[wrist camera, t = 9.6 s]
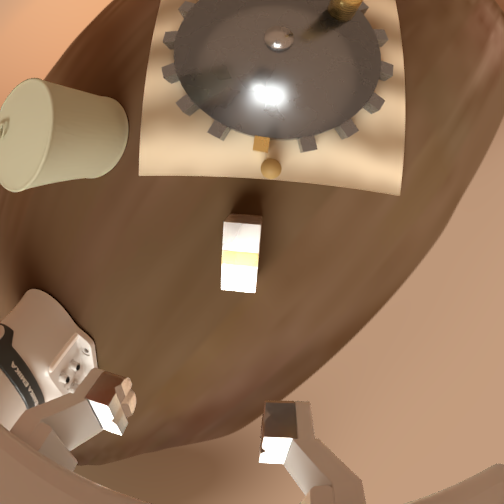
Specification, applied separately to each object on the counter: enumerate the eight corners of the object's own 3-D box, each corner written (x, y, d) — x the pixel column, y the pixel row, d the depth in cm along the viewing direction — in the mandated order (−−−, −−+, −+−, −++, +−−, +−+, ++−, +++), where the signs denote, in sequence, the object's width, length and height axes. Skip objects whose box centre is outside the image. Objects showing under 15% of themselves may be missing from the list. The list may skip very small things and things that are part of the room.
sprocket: (421, 91, 19) (461, 75, 12) (253, 199, 24) (246, 213, 17) (294, -43, 15) (298, -81, 8) (133, 47, 19) (98, 23, 13)
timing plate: (395, 194, 24) (414, 200, 20) (143, 175, 25) (123, 177, 21) (390, -8, 16) (402, -23, 12) (171, -22, 17) (159, -39, 13)
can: (77, 94, 22) (2, 79, 11) (140, 100, 23) (64, 73, 11) (59, 169, 25) (-18, 183, 14) (117, 186, 25) (36, 206, 14)
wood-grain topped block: (257, 274, 28) (255, 293, 24) (227, 272, 28) (220, 289, 24) (262, 215, 26) (260, 225, 22) (230, 213, 26) (223, 222, 22)
